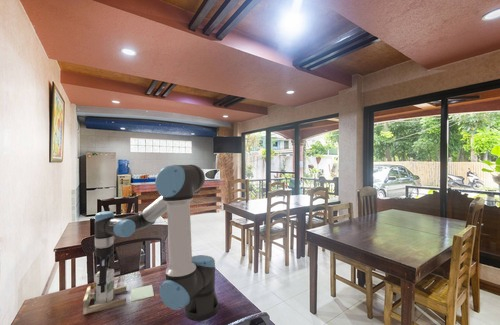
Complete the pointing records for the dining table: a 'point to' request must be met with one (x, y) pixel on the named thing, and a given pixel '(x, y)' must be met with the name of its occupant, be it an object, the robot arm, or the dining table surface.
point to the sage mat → (142, 293)
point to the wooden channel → (104, 305)
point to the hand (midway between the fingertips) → (104, 290)
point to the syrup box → (109, 287)
